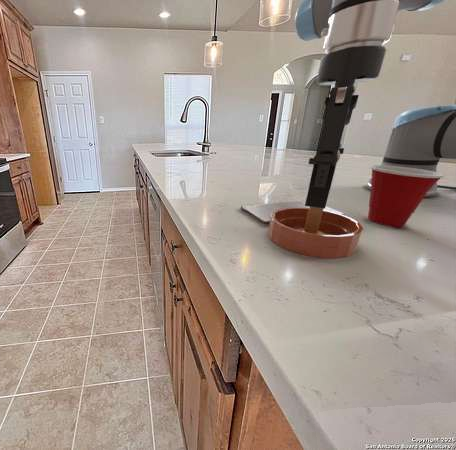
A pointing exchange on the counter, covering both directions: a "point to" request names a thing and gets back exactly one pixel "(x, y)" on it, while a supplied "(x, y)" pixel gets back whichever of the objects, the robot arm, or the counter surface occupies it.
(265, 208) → the board
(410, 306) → the counter surface
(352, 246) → the bowl
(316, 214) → the stirrer
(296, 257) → the counter surface
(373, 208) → the plastic cup
